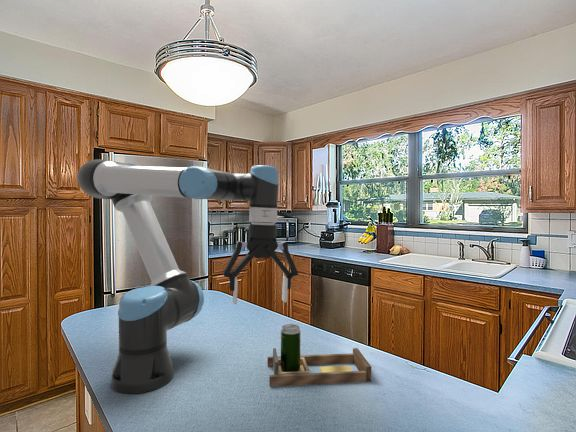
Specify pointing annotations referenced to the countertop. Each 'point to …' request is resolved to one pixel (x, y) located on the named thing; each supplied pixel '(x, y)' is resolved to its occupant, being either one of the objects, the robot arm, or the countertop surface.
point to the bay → (326, 370)
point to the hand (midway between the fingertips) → (260, 301)
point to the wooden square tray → (278, 371)
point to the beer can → (290, 348)
